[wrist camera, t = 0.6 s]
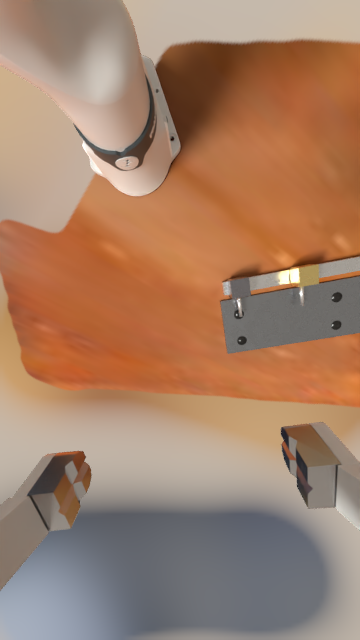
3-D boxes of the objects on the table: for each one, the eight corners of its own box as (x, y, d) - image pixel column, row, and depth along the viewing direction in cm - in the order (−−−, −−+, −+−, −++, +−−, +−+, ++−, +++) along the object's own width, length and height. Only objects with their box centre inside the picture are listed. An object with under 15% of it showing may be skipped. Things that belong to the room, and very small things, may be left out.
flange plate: (220, 301, 48) (220, 301, 47) (376, 272, 45) (378, 272, 45) (227, 352, 52) (227, 353, 51) (372, 329, 49) (374, 330, 48)
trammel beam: (221, 279, 47) (225, 281, 42) (373, 251, 44) (395, 249, 39) (226, 315, 49) (230, 321, 44) (370, 290, 46) (391, 293, 41)
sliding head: (289, 267, 44) (298, 268, 40) (308, 264, 43) (318, 264, 40) (291, 306, 46) (299, 309, 43) (309, 303, 46) (318, 306, 42)
